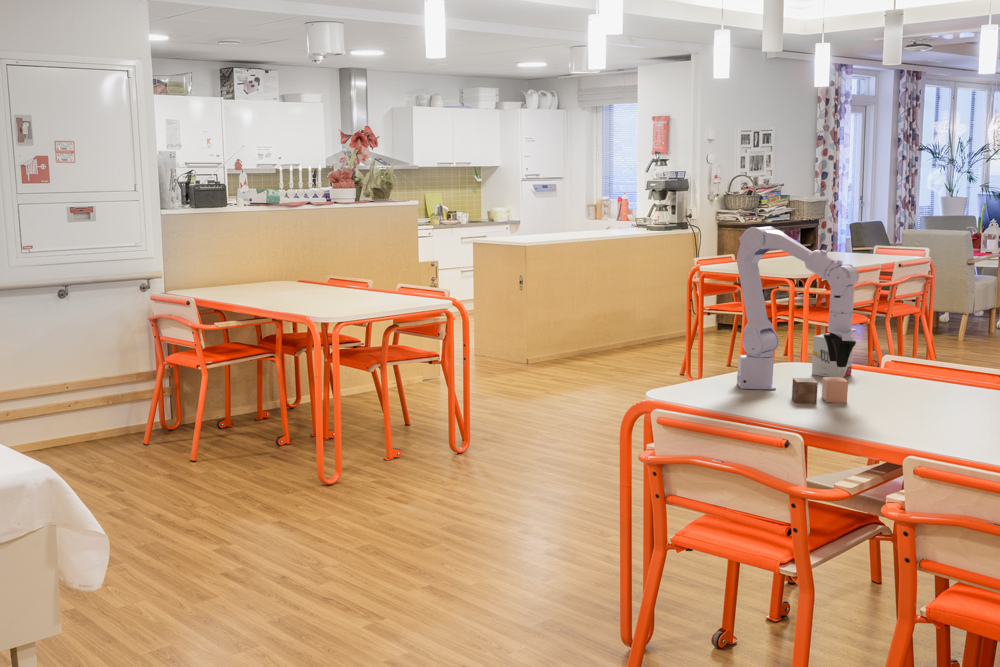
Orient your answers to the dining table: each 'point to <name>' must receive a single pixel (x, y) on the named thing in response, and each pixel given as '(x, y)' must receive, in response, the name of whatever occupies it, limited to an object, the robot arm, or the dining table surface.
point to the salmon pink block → (834, 389)
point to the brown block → (804, 390)
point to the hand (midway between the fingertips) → (837, 363)
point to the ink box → (827, 360)
